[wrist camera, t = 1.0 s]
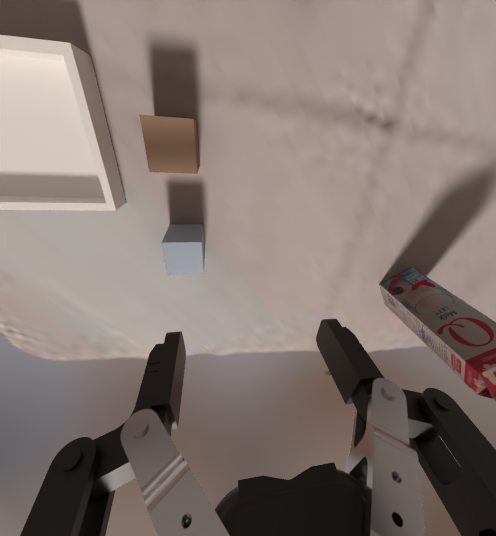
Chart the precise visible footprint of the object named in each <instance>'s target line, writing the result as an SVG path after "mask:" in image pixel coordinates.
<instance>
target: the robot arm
mask: <svg viewBox="0 0 496 536" xmlns="http://www.w3.org/2000/svg"><path fill="white" fill-rule="evenodd" d="M316 341H317V346H318V348H319V350H320V352H321V354H322V356H323V358H324V360H325V363H326V364H327V367H328V369H329V371H330V373H331V375H332V377H333V379H334V381H335V383H336V385H337V387H338V389H339V391H340V393H341V395H342V398H343V400H344V402H345V404H351V403H354V405H355V407H356V410H355V415H354V423H353V432H352V440H351V448H350V453H349V455H348V458H347V461H346V466H345V472H343V471H341V470H338V469H336V467H335V464H334V463H328V464H323V465H318V466H313V467H310V468H309V469H307V470H305V471H304V472H302V473H301V474H299V475H298V476H296V477H294V478H293V479H291V480H284V479H278V478H272V477H267V476H260V477H254V478H249V479H243V480H238V487H236V488H235V489H233V490H232V491H231V492H229V493H228V494H227V495H226V496H225V497H224V498H223V499H222V500H221V502H220V503H219V504H218V506H217V507H216V509H215V510H214V508H213V507H212V505H211V503H210V501H209V500H208V498H207V496H206V495H205V493H204V491H203V489H202V488H201V486H200V484H199V483H198V481H197V479H196V478H195V476H194V474H193V473H192V471H191V469H190V468H189V466H188V464H187V463H186V461H185V460H184V458H183V457H182V456H181V454H180V453H179V451H178V449H177V448H176V446H175V444H174V442H173V441H172V439H171V430H172V429H176V428H178V423H179V414H180V405H181V395H182V386H183V378H184V369H185V358H186V352H185V345H184V340H183V335H182V332H170V333H167V334H166V337H165V342H164V344H156V345H155V347H154V348H153V350H152V351H151V352H150V354H149V358H148V362H147V366H146V369H145V374H144V376H143V380H142V384H141V388H140V391H139V395H138V398H137V402H136V406H135V409H134V411H133V413H132V414H131V416H130V417H129V419H128V420H127V421H126V422H125V423H124V424H123V425H121V426H120V427H119V428H117V429H115V430H113V431H111V432H109V433H107V434H105V435H103V436H101V437H99V438H97V439H94V440H92V439H91V438H88V437H81V438H78V439H76V440H73V441H72V442H70V443H69V444H67V445H66V446H65V447H64V448H62V449H61V450H60V452H59V453H58V454H57V455H56V457H55V458H54V460H53V461H52V463H51V465H50V467H49V470H48V472H47V474H46V477H45V479H44V481H43V484H42V486H41V488H40V491H39V493H38V496H37V498H36V500H35V503H34V505H33V507H32V509H31V512H30V514H29V516H28V519H27V521H26V524H25V526H24V528H23V531H22V533H21V535H20V536H105V534H106V530H107V524H108V520H109V516H110V511H111V506H112V502H113V498H114V493H115V489H117V488H118V487H120V486H122V485H123V484H125V483H127V482H129V481H130V480H132V479H134V478H135V477H136V479H137V481H138V483H139V486H140V488H141V490H142V493H143V496H144V501H145V505H146V508H147V510H148V513H149V515H150V517H151V520H152V522H153V524H154V527H155V529H156V532H157V534H158V536H426V535H425V526H424V525H425V524H424V515H423V503H422V492H421V482H420V472H419V463H420V464H421V466H422V468H423V470H424V471H425V473H426V475H427V477H428V478H429V480H430V482H431V484H432V485H433V487H434V489H435V491H436V492H437V494H438V496H439V497H440V499H441V501H442V503H443V504H444V506H445V508H446V510H447V511H448V513H449V515H450V516H451V518H452V520H453V522H454V524H455V525H456V527H457V529H458V531H459V532H460V534H461V536H496V450H495V449H494V448H493V446H492V445H491V444H490V443H489V442H488V440H487V439H486V438H485V437H484V436H483V434H482V433H481V432H480V431H479V430H478V428H477V427H476V426H475V425H474V424H473V422H472V421H471V420H470V419H469V418H468V416H467V415H466V414H465V413H464V412H463V410H462V409H461V408H460V407H459V406H458V405H457V403H456V402H455V401H454V400H453V399H452V398H451V397H450V396H448V395H447V394H446V393H444V392H442V391H440V390H438V389H435V388H427V389H426V390H425V391H424V392H423V393H418V392H413V391H408V390H403V389H401V388H400V387H399V386H398V385H397V384H395V383H394V382H392V381H390V380H388V379H385V378H384V377H383V375H382V374H381V373H380V371H379V370H378V368H377V367H376V365H375V364H374V362H373V361H372V360H371V358H370V357H369V355H368V354H367V352H366V351H365V350H364V348H363V346H362V345H361V344H360V343H359V341H358V339H357V338H356V336H355V335H354V334H353V333H352V332H351V331H350V330H349V329H347V328H346V327H342V326H341V325H340V323H339V322H338V320H337V319H325V320H322V321H321V324H320V327H319V330H318V333H317V337H316ZM439 436H440V437H441V438H442V440H443V441H444V443H445V444H446V446H447V447H448V448H449V450H450V451H451V453H452V454H453V456H454V457H455V459H456V460H457V462H458V463H459V464H458V463H457V462H456V460H455V459H454V457H453V456H452V454H451V453H450V451H449V450H448V448H447V447H446V446H445V444H444V443H443V441H442V440H441V438H440V437H439ZM459 465H460V466H459Z"/></svg>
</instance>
